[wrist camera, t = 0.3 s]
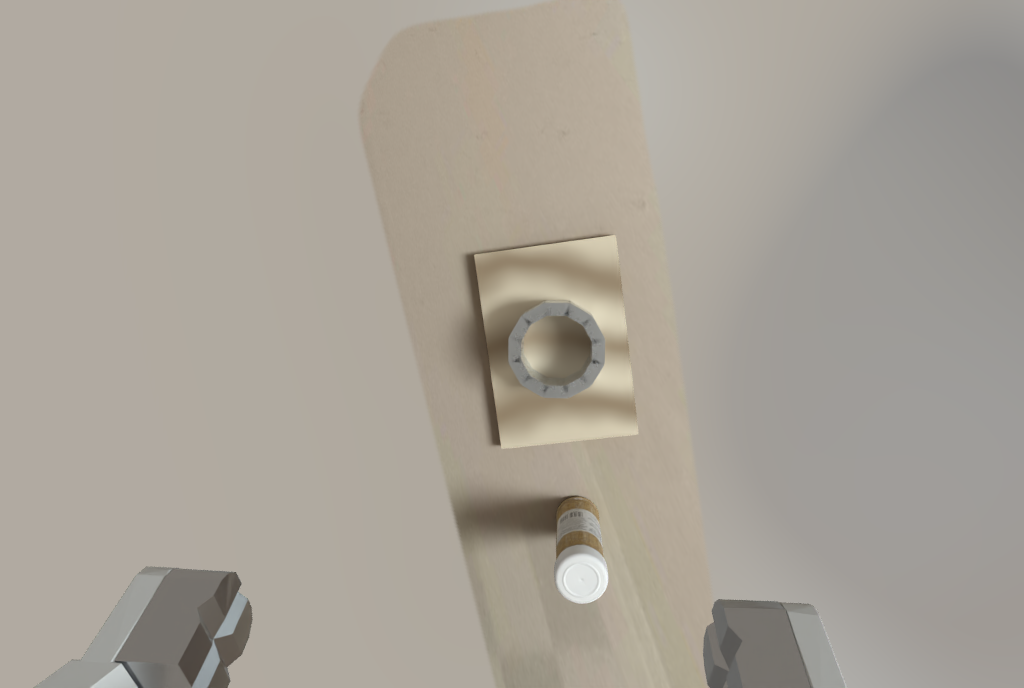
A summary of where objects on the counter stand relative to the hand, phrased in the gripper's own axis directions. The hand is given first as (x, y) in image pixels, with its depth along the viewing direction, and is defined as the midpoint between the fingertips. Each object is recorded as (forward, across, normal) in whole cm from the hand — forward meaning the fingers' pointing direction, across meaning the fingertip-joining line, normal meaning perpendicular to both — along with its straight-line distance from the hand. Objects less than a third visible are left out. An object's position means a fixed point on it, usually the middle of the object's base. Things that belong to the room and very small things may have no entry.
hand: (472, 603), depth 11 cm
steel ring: (+45, +2, -26) cm, 51 cm away
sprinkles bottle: (+38, +5, -42) cm, 57 cm away
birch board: (+46, +2, -26) cm, 53 cm away
